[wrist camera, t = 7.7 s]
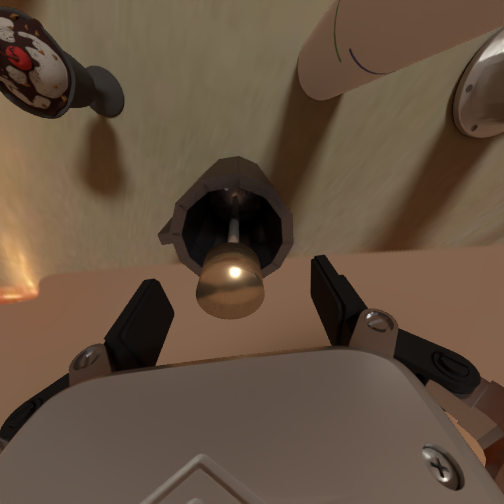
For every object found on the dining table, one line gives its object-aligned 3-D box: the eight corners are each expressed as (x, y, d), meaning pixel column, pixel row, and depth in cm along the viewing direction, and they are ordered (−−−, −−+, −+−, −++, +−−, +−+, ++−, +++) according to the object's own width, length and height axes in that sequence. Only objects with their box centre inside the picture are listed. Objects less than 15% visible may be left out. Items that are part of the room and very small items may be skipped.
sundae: (141, 92, 24) (33, 41, 12) (116, 136, 27) (1, 135, 14) (87, 38, 22) (-132, -104, 9) (63, 92, 24) (-139, 39, 11)
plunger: (256, 167, 28) (292, 227, 9) (262, 217, 32) (296, 328, 13) (204, 176, 28) (139, 250, 10) (216, 224, 32) (187, 344, 13)
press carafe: (265, 151, 29) (290, 164, 15) (272, 220, 34) (294, 276, 21) (177, 166, 29) (121, 191, 15) (198, 232, 35) (171, 295, 21)
